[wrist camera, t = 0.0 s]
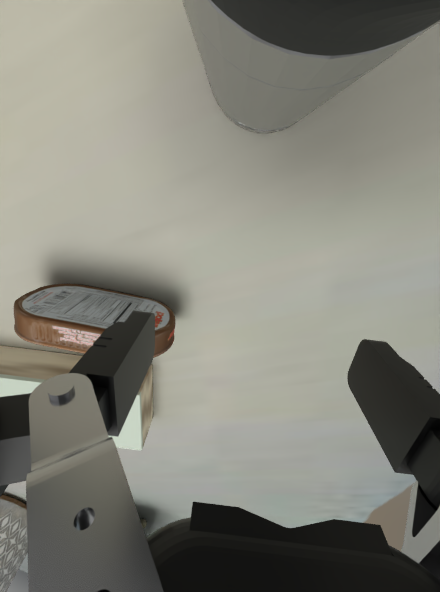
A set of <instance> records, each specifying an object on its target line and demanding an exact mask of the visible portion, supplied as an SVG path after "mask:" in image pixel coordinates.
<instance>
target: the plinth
mask: <svg viewBox="0 0 440 592" xmlns="http://www.w3.org/2000/svg"><path fill="white" fill-rule="evenodd" d="M81 358H82V356H81V355H73V354H65V353H57V352H49V351H41V350H33V349H25V348H17V347H9V346H1V345H0V397H4V396H12V395H21V394H28V393H32V392H33V390H34V389H35V388H36V387H37V386H38V385H40V384H41V383H42V382H44V381H46V380H47V379H49V378H52V377H54V376H57V375H61V374H67V373H69V372H70V371H71V369H72V368H73V367H74V366H75V365H76V363H77V362H78V361H79V360H80V359H81ZM152 418H153V373H152V364H151V365H150V367H149V369H148V372H147V374H146V376H145V378H144V381H143V383H142V385H141V387H140V389H139V392H138V394H137V396H136V398H135V401H134V403H133V405H132V407H131V410H130V412H129V414H128V416H127V418H126V421H125V423H124V425H123V427H122V430H121V432H120V434H119V436H118V437H116V436H109V437H112V438H113V440H114V443H115V445H116V447H117V448H125V449H133V450H141V451H142V449H143V446H144V443H145V440H146V437H147V434H148V431H149V427H150V424H151V421H152Z"/></svg>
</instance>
